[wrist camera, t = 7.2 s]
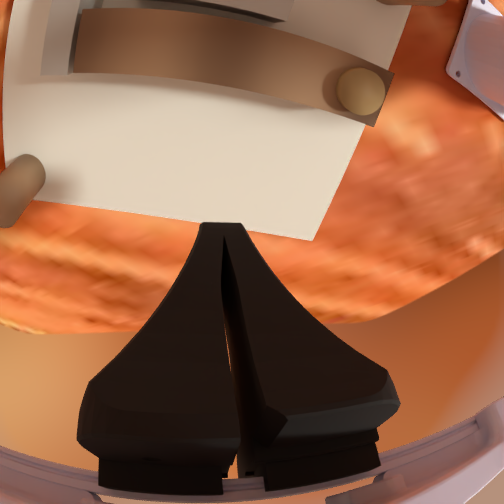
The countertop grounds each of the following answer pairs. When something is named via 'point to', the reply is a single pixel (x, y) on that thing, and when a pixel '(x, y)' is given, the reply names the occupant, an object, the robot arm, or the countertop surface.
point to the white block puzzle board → (180, 121)
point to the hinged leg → (230, 58)
